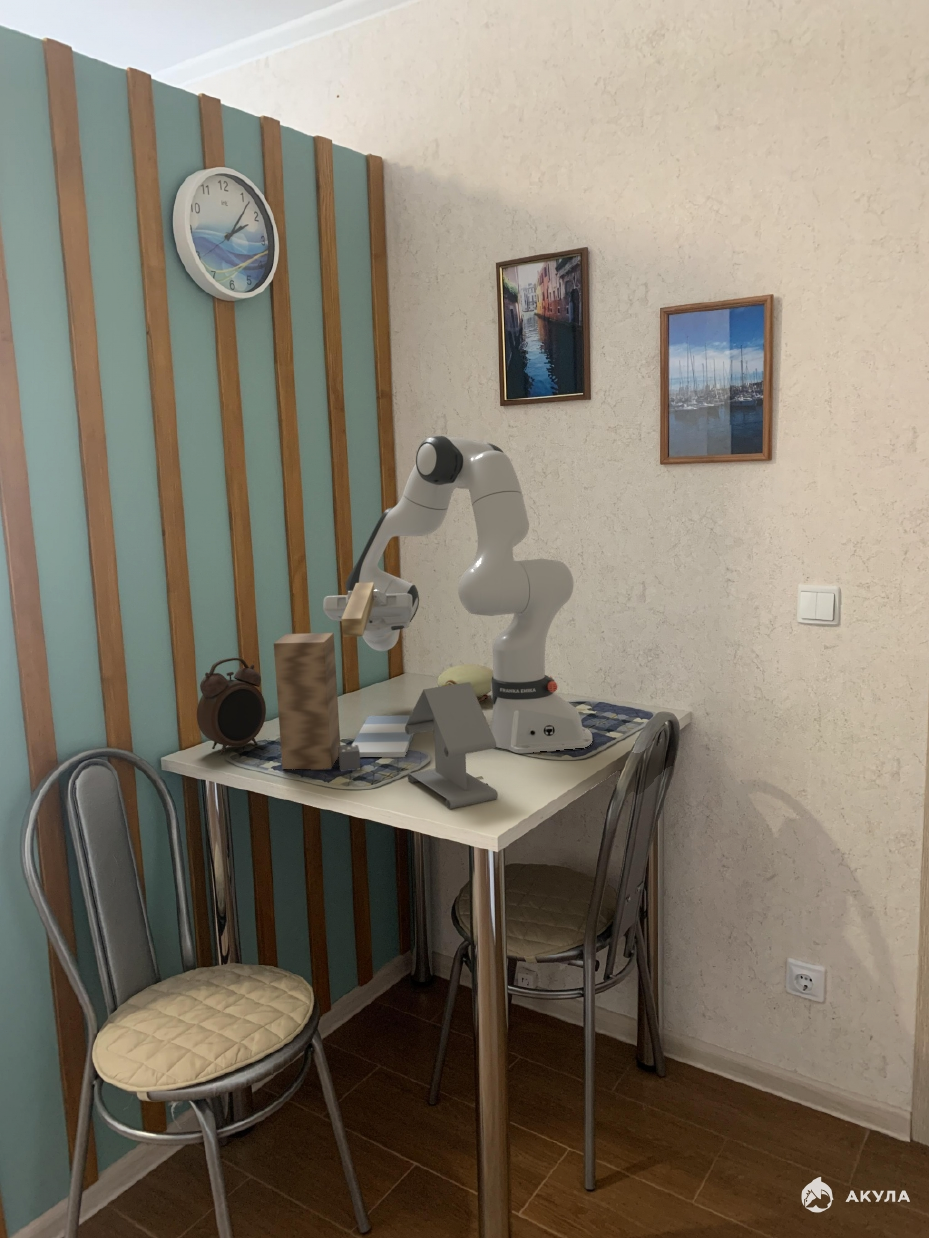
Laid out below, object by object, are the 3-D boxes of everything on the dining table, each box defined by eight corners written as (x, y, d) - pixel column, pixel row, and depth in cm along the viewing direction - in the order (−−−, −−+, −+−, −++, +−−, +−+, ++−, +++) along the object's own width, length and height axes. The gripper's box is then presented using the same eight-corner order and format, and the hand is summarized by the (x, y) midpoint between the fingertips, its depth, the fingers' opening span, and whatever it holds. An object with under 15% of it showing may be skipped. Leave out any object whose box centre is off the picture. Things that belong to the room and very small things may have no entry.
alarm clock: (216, 760, 197) (208, 667, 194) (197, 753, 202) (189, 663, 199) (273, 743, 208) (267, 654, 205) (254, 737, 213) (247, 651, 209)
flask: (510, 696, 241) (472, 716, 226) (458, 690, 250) (419, 709, 235) (508, 661, 239) (470, 679, 224) (456, 656, 248) (416, 673, 233)
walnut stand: (340, 753, 199) (333, 632, 194) (331, 769, 189) (323, 642, 185) (294, 754, 199) (285, 634, 195) (282, 769, 190) (273, 643, 185)
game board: (418, 720, 222) (418, 715, 222) (405, 757, 195) (404, 751, 195) (368, 720, 223) (368, 716, 223) (347, 758, 196) (347, 752, 195)
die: (358, 763, 192) (357, 743, 191) (360, 769, 188) (359, 749, 187) (339, 765, 191) (337, 745, 191) (340, 771, 187) (339, 751, 187)
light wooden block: (375, 598, 211) (373, 582, 210) (362, 636, 193) (360, 618, 191) (357, 599, 212) (356, 583, 210) (343, 636, 193) (341, 618, 192)
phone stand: (497, 800, 169) (494, 691, 165) (450, 810, 164) (446, 699, 161) (451, 772, 185) (447, 672, 181) (407, 781, 180) (402, 679, 177)
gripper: (329, 605, 222) (317, 581, 209) (416, 602, 221) (408, 578, 208) (328, 630, 220) (315, 608, 207) (415, 627, 218) (408, 605, 205)
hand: (363, 593), depth 207 cm, fingers closed on light wooden block, 4 cm apart
